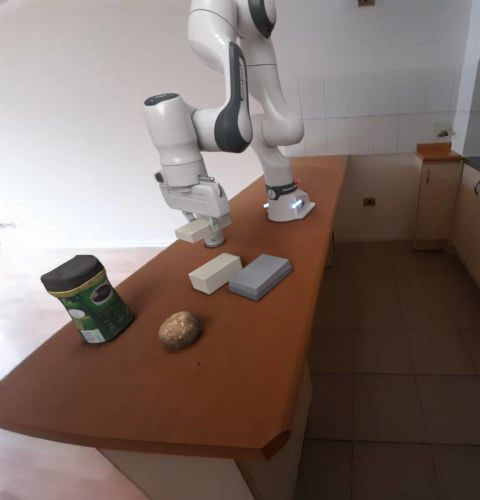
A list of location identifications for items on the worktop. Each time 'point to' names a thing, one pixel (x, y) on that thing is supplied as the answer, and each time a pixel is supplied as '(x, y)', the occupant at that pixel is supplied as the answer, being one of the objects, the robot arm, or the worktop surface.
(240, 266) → the white book
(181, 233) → the cream flat block
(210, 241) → the travel mug
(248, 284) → the grey book
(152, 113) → the robot arm
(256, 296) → the grey book
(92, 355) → the worktop surface
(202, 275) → the white book
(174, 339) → the brown oval lump
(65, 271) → the coffee jar
